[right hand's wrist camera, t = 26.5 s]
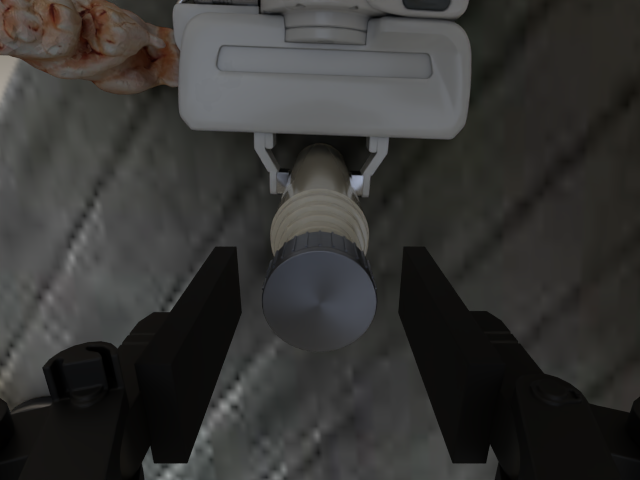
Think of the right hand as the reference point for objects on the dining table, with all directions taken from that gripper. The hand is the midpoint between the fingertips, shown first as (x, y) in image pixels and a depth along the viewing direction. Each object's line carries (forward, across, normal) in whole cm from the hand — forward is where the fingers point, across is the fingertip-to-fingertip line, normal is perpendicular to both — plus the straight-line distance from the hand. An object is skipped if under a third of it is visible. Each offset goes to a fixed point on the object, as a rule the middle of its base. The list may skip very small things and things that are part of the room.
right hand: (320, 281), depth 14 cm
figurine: (+23, -14, +10) cm, 29 cm away
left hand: (+17, 0, -1) cm, 17 cm away
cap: (-1, 0, 0) cm, 1 cm away
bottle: (+23, 0, 0) cm, 23 cm away
